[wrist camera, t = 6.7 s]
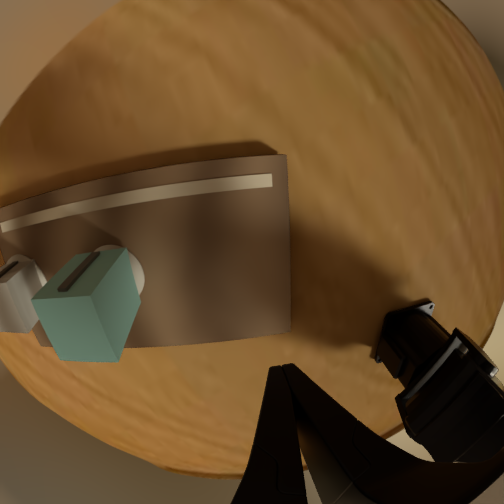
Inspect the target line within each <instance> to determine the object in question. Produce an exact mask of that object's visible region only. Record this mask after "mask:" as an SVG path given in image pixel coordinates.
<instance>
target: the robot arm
mask: <svg viewBox="0 0 504 504" xmlns="http://www.w3.org/2000/svg"><path fill="white" fill-rule="evenodd" d="M433 309H434V303H433V302H432V301H429V302H425V303H422V304H419V305H415V306H412V307H408V308H405V309H401V310H398V311H394V312H390V313H388V314H387V315H386V317H385V320H384V325H383V329H382V333H381V337H380V341H379V345H378V348H377V352H376V356H375V361H376V363H381V362H383V363H384V365H385V366H386V368H387V369H388V371H389V372H390V373H391V375H392V376H393V378H395V379H397V378H398V379H399V380H400V382H401V383H402V385H403V386H404V388H405V389H404V390H403V391H402V392H401V393H400V394H398V395H397V396H396V397H395V401H396V403H397V407H398V410H399V413H400V416H401V418H402V421H403V424H404V427H405V430H406V433H407V434H408V435H409V437H410V438H412V439H413V440H414V441H415V442H417V443H419V444H421V445H423V446H424V448H425V449H426V450H427V451H428V452H429V453H430V455H431V456H432V458H433V459H434V461H435V462H430V461H426V460H422V459H420V458H417V457H415V456H413V455H411V454H409V453H407V452H406V451H404V450H402V449H400V448H399V447H397V446H395V445H393V444H391V443H390V442H388V441H387V440H385V439H383V438H382V437H380V436H379V435H377V434H376V433H374V432H373V431H372V430H370V429H369V428H368V427H366V426H365V425H364V424H363V423H362V422H360V421H359V420H357V418H355V417H354V416H353V415H352V414H351V413H349V412H348V411H347V410H346V409H345V408H343V407H342V406H341V405H340V404H339V403H338V402H336V401H335V400H334V399H333V398H332V397H331V396H329V395H328V394H327V393H326V392H325V391H324V390H323V389H321V388H320V387H319V386H318V385H317V384H316V383H315V382H313V381H312V380H311V379H310V378H309V377H308V376H307V375H306V374H305V373H303V372H302V371H301V370H300V369H299V368H298V367H297V366H296V365H295V364H293V363H290V364H284V365H282V366H280V365H278V366H272V367H270V368H269V372H268V377H267V381H266V386H265V391H264V396H263V401H262V406H261V410H260V415H259V419H258V424H257V428H256V433H255V437H254V441H253V445H252V449H251V454H250V457H249V461H248V464H247V467H246V470H245V472H244V475H243V478H242V480H241V482H240V484H239V487H238V489H237V491H236V493H235V495H234V497H233V500H232V502H231V504H308V502H307V497H306V489H305V480H304V473H303V466H302V459H301V453H300V449H301V452H302V454H303V457H304V459H305V462H306V464H307V467H308V469H309V472H310V474H311V477H312V479H313V482H314V484H315V487H316V489H317V492H318V494H319V497H320V499H321V502H322V504H504V386H503V384H502V383H501V382H500V381H499V380H498V378H497V377H496V376H495V374H496V373H497V372H498V371H499V369H498V368H497V366H496V365H495V364H494V363H493V361H492V360H491V359H490V358H489V357H488V355H487V354H486V353H485V352H484V351H483V350H482V349H481V348H480V347H479V346H478V345H477V344H476V343H475V342H474V341H473V340H472V339H471V338H470V337H468V336H467V335H466V334H464V333H463V332H462V331H460V330H459V329H458V328H455V329H454V330H453V333H452V334H451V335H450V334H449V333H448V332H447V331H446V330H445V329H444V328H443V327H442V326H441V325H440V324H439V323H438V322H437V321H436V320H435V319H434V318H433V317H432V316H431V315H432V312H433ZM467 350H468V351H467ZM466 351H467V352H466ZM465 352H466V353H465ZM464 353H465V354H464ZM453 462H458V463H453Z"/></svg>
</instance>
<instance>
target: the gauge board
mask: <svg viewBox="0 0 504 504" xmlns="http://www.w3.org/2000/svg"><path fill="white" fill-rule="evenodd" d="M126 247H127V251H128V255H129V260H130V264H131V268H132V271H133V275H134V279H135V283H136V286H137V290H138V293H139V297H140V300H141V304H140V306H139V308H138V311H137V314H136V316H135V319H134V321H133V324H132V326H131V329H130V332H129V334H128V337H127V340H126V342H125V345H124V348H141V347H162V346H177V345H190V344H202V343H212V342H222V341H230V340H239V339H247V338H254V337H261V336H268V335H275V334H281V333H287V332H291V259H290V219H289V193H288V171H287V155H285V154H275V155H259V156H245V157H234V158H223V159H214V160H205V161H197V162H189V163H182V164H175V165H169V166H162V167H156V168H150V169H145V170H139V171H134V172H129V173H124V174H119V175H114V176H109V177H105V178H100V179H96V180H92V181H88V182H84V183H80V184H76V185H72V186H68V187H64V188H61V189H57V190H54V191H50V192H47V193H44V194H40V195H37V196H34V197H31V198H28V199H25V200H22V201H19V202H16V203H13V204H10V205H7V206H4V207H2V208H0V249H1V252H2V255H3V259H4V262H5V264H4V265H3V266H2V267H0V332H14V333H29V332H30V331H31V329H32V330H33V332H34V334H35V336H36V338H37V340H38V342H39V343H40V345H41V346H45V347H53V346H52V344H51V342H50V340H49V338H48V336H47V334H46V332H45V330H44V328H43V326H42V324H41V322H40V320H39V318H38V316H37V313H36V311H35V309H34V307H33V304H32V302H31V299H32V298H33V296H34V295H35V294H36V293H37V292H38V291H39V290H40V289H41V288H42V287H43V286H44V285H45V284H46V283H47V282H48V281H49V280H50V279H51V278H52V277H53V276H54V275H55V274H56V273H57V272H58V271H59V270H60V269H61V268H62V267H63V266H64V265H65V264H66V263H67V262H68V261H70V260H71V259H72V258H73V257H74V256H75V255H77V254H83V253H90V252H97V251H104V250H112V249H119V248H126Z"/></svg>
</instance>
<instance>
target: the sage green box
mask: <svg viewBox="0 0 504 504" xmlns="http://www.w3.org/2000/svg"><path fill="white" fill-rule="evenodd" d="M31 302H32V304H33V307H34V309H35V311H36V313H37V316H38V318H39V320H40V322H41V324H42V326H43V328H44V330H45V332H46V334H47V336H48V338H49V340H50V342H51V344H52V346H53V348H54V350H55V351H56V353H57V355H58V357H59V359H60V360H65V361H83V362H119V359H120V356H121V354H122V351H123V348H124V345H125V342H126V340H127V337H128V334H129V332H130V329H131V326H132V324H133V321H134V319H135V316H136V314H137V311H138V308H139V306H140V304H141V300H140V297H139V293H138V290H137V286H136V283H135V279H134V275H133V271H132V268H131V264H130V260H129V255H128V251H127V247H126V248H119V249H112V250H104V251H97V252H90V253H83V254H77V255H75V256H74V257H73V258H72V259H71V260H70V261H68V262H67V263H66V264H65V265H64V266H63V267H62V268H61V269H60V270H59V271H58V272H57V273H56V274H55V275H54V276H53V277H52V278H51V279H50V280H49V281H48V282H47V283H46V284H45V285H44V286H43V287H42V288H41V289H40V290H39V291H38V292H37V293H36V294H35V295H34V296H33V298H32V299H31Z"/></svg>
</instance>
